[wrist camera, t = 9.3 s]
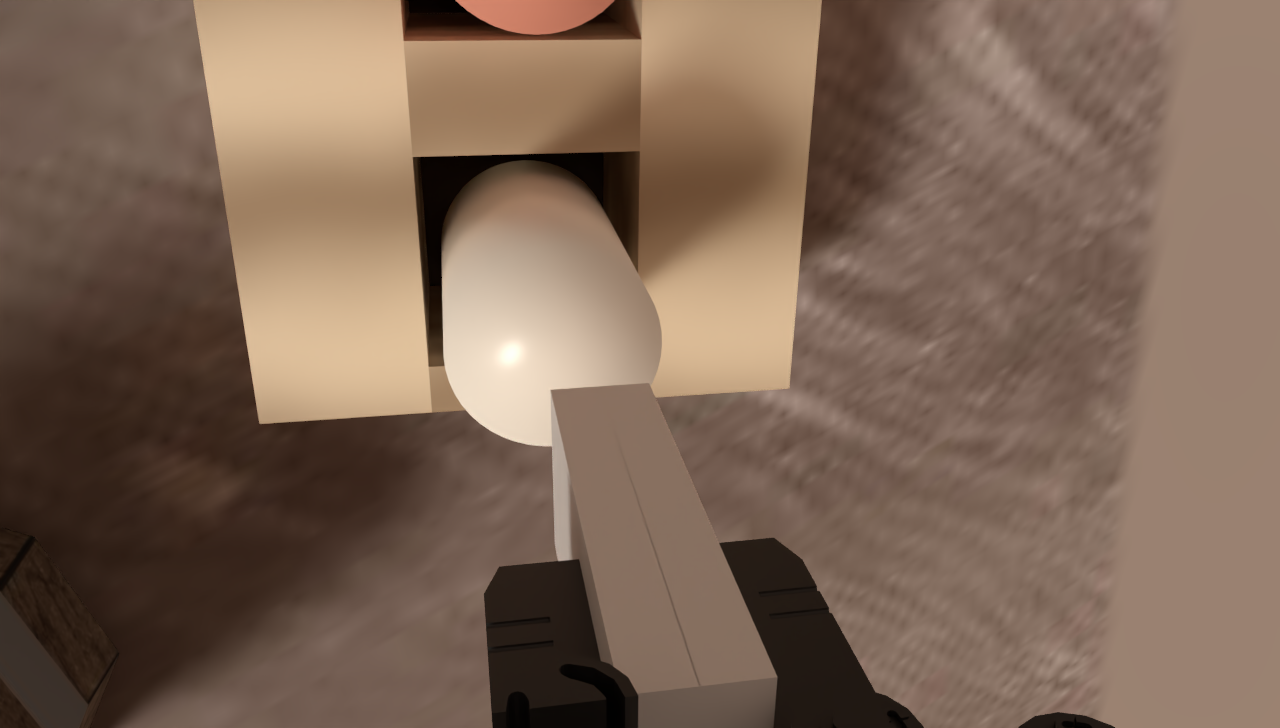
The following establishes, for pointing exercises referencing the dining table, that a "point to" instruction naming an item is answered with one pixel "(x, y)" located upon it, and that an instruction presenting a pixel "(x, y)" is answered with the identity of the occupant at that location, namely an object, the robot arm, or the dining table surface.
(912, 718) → the robot arm
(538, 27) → the brick plug
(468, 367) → the cream plug
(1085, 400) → the dining table surface
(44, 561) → the mug
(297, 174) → the maple block
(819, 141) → the dining table surface
